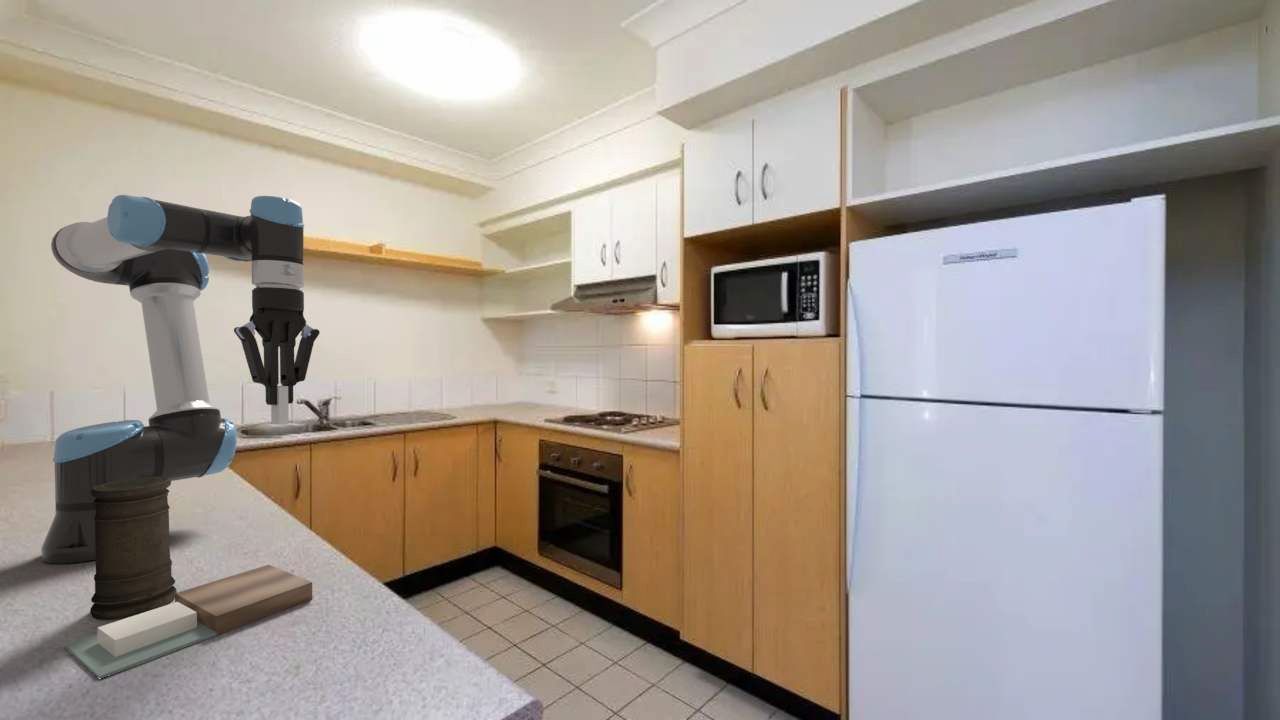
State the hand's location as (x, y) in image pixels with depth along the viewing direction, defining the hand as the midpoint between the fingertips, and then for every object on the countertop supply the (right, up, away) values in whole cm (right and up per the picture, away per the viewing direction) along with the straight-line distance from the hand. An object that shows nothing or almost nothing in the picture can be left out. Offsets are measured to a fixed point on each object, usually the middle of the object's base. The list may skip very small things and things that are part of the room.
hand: (279, 423), depth 94 cm
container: (-10, -25, -16) cm, 31 cm away
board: (+6, -25, -16) cm, 30 cm away
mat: (0, -25, -26) cm, 36 cm away
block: (0, -24, -25) cm, 35 cm away
